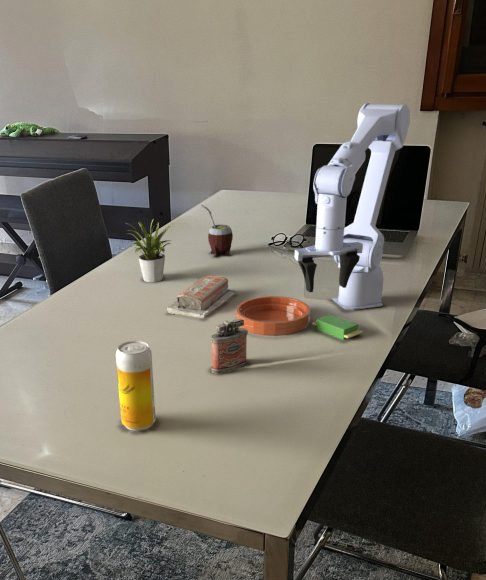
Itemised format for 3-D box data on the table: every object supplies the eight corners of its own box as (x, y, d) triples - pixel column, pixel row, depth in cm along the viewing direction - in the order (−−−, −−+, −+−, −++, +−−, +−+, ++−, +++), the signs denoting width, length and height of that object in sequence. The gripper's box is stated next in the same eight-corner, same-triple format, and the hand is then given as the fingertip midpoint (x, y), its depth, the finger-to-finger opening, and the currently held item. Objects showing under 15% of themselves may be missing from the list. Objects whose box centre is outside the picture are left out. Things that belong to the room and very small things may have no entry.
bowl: (293, 306, 176) (294, 292, 174) (320, 332, 162) (321, 317, 160) (227, 315, 174) (227, 301, 172) (249, 342, 159) (249, 327, 158)
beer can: (120, 417, 134) (114, 341, 127) (154, 414, 134) (149, 338, 127) (122, 433, 129) (116, 356, 121) (157, 430, 129) (152, 352, 122)
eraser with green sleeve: (325, 324, 165) (326, 312, 164) (361, 338, 158) (362, 326, 156) (311, 329, 163) (312, 317, 162) (347, 343, 156) (348, 331, 154)
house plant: (113, 286, 196) (108, 224, 188) (133, 269, 207) (129, 211, 199) (163, 290, 191) (160, 227, 183) (181, 273, 202) (179, 213, 194)
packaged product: (200, 271, 187) (236, 276, 182) (200, 289, 189) (236, 295, 185) (165, 295, 174) (203, 300, 169) (166, 314, 176) (204, 320, 172)
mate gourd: (236, 252, 215) (236, 200, 208) (224, 259, 209) (224, 206, 202) (214, 249, 219) (213, 198, 211) (201, 256, 213) (200, 204, 206)
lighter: (216, 375, 146) (216, 329, 141) (207, 369, 149) (207, 323, 144) (250, 365, 149) (251, 319, 144) (241, 359, 152) (241, 314, 147)
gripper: (304, 235, 148) (301, 299, 155) (371, 227, 150) (365, 290, 157) (291, 226, 154) (289, 288, 161) (356, 218, 156) (351, 279, 163)
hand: (326, 288), depth 160 cm, fingers open, 7 cm apart
